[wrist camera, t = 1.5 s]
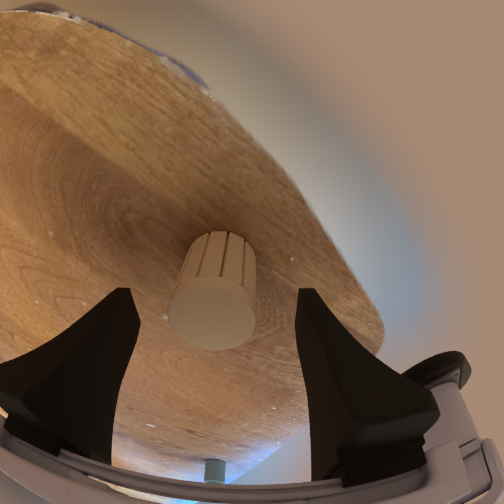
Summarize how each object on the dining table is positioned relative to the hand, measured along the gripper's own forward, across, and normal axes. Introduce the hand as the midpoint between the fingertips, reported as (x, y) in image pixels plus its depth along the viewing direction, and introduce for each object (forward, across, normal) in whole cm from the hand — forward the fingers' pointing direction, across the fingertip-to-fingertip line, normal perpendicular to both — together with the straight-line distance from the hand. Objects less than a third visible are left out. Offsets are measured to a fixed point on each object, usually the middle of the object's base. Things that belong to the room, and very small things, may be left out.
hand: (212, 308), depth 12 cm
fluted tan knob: (+4, 0, 0) cm, 4 cm away
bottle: (+4, +4, +34) cm, 34 cm away
